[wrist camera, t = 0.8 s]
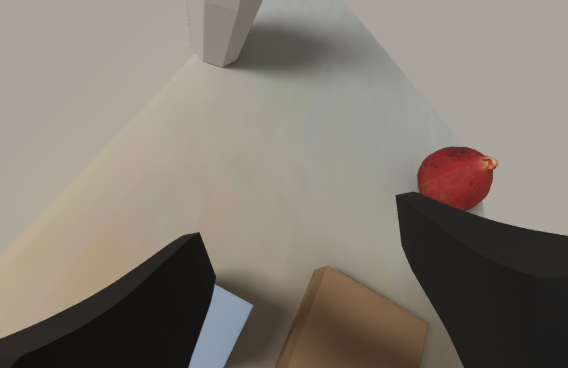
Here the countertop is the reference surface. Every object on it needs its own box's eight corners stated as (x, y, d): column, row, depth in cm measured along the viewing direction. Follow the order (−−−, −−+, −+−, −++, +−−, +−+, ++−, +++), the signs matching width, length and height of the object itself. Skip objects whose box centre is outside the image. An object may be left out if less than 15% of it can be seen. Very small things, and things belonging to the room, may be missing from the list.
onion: (388, 180, 32) (450, 140, 25) (425, 159, 34) (490, 117, 27) (423, 231, 31) (498, 205, 24) (458, 206, 33) (535, 175, 26)
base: (376, 449, 23) (398, 463, 20) (265, 391, 22) (275, 399, 20) (407, 322, 27) (428, 323, 25) (314, 270, 26) (327, 265, 24)
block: (203, 373, 21) (212, 390, 16) (141, 341, 21) (132, 349, 16) (236, 307, 23) (253, 305, 18) (181, 277, 23) (183, 266, 18)
